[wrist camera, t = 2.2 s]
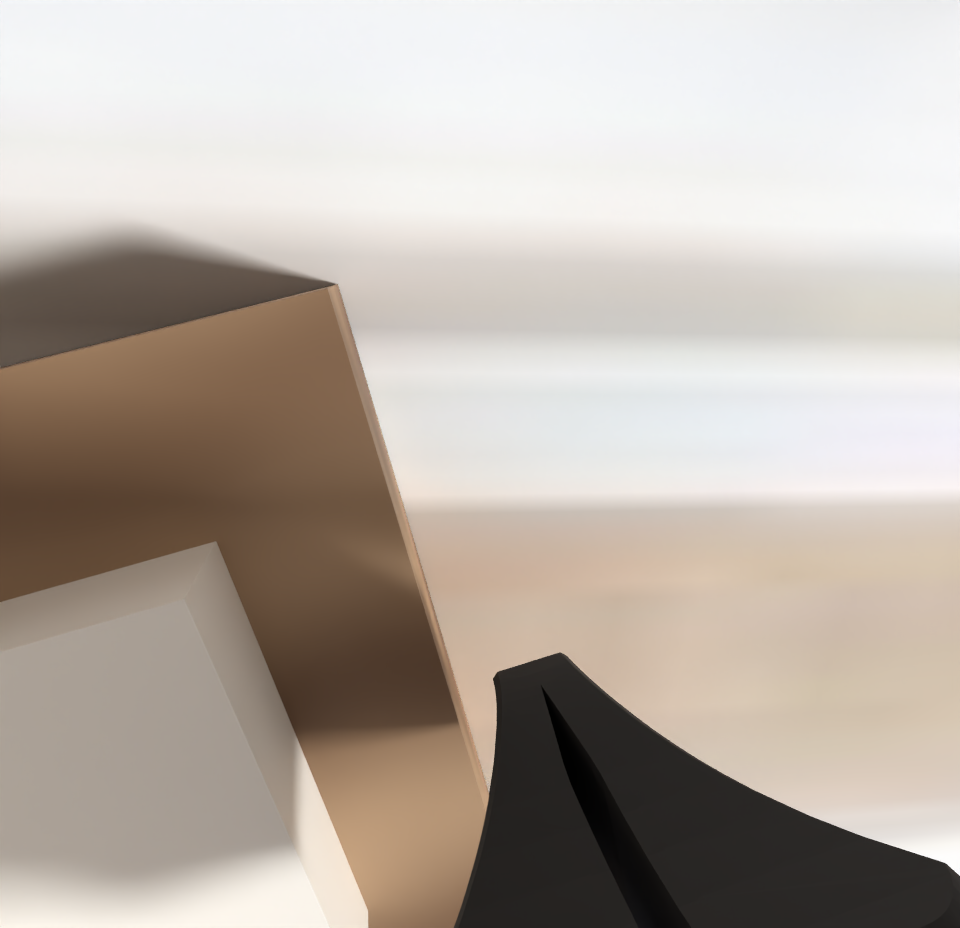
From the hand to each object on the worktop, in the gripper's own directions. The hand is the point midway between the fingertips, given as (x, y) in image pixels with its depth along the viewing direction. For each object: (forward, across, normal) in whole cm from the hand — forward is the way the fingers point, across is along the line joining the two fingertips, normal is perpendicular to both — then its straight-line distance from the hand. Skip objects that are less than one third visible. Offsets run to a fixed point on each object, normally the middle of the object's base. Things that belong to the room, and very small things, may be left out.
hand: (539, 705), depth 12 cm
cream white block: (+1, +8, 0) cm, 8 cm away
